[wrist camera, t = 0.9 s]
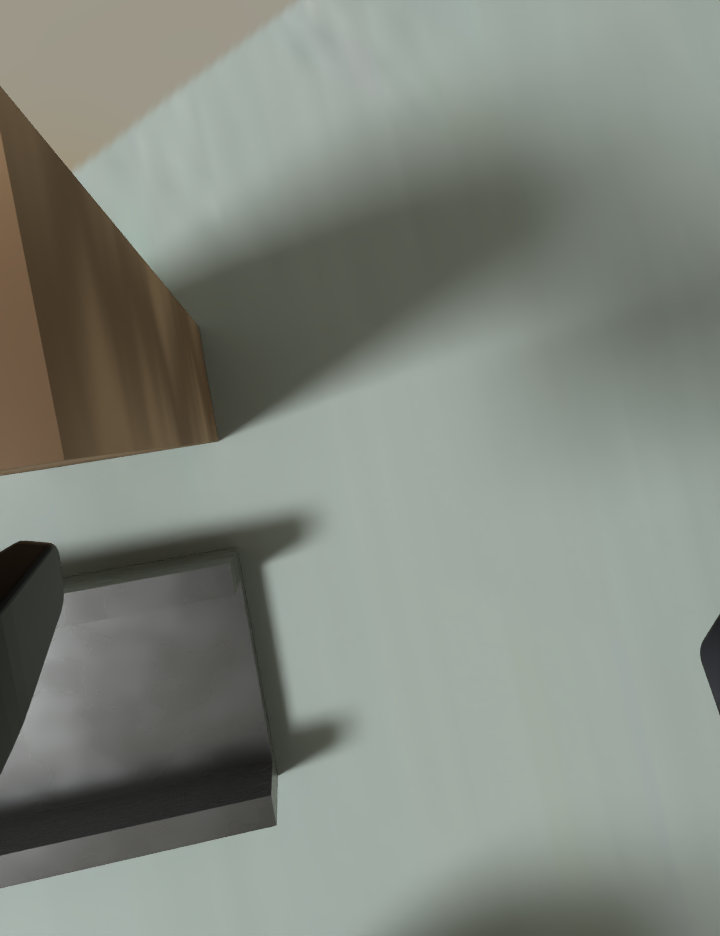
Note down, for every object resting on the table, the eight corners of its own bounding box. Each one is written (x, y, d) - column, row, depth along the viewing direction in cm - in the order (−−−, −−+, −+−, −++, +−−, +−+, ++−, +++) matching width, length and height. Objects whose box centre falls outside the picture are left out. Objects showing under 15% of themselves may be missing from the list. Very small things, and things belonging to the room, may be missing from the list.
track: (237, 546, 22) (229, 563, 19) (277, 776, 22) (276, 825, 20) (-127, 611, 20) (-193, 640, 18) (-73, 853, 21) (-128, 917, 18)
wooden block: (218, 441, 21) (64, 460, 7) (39, 470, 21) (-582, 561, 6) (197, 325, 21) (-12, 72, 6) (15, 350, 21) (-699, 134, 6)
